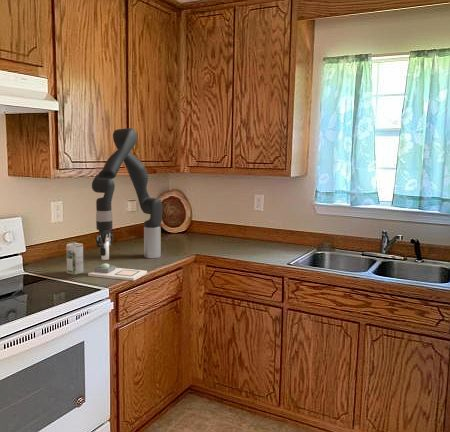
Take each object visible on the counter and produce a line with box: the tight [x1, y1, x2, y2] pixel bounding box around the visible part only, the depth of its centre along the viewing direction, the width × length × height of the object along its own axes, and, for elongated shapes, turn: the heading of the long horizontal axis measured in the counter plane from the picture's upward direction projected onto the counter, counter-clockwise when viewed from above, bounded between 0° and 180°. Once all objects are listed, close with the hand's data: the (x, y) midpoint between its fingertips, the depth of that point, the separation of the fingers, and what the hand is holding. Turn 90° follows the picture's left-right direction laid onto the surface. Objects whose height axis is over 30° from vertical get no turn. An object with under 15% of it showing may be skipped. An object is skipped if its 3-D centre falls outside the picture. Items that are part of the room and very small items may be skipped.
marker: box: [100, 238, 110, 261], centre depth 228 cm, size 4×4×10 cm
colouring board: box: [87, 264, 148, 282], centre depth 227 cm, size 14×24×3 cm, turn 74°
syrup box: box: [66, 242, 84, 275], centre depth 228 cm, size 6×6×14 cm
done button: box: [100, 263, 110, 268], centre depth 229 cm, size 4×4×3 cm
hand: (105, 254), depth 228 cm, fingers closed on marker, 3 cm apart
